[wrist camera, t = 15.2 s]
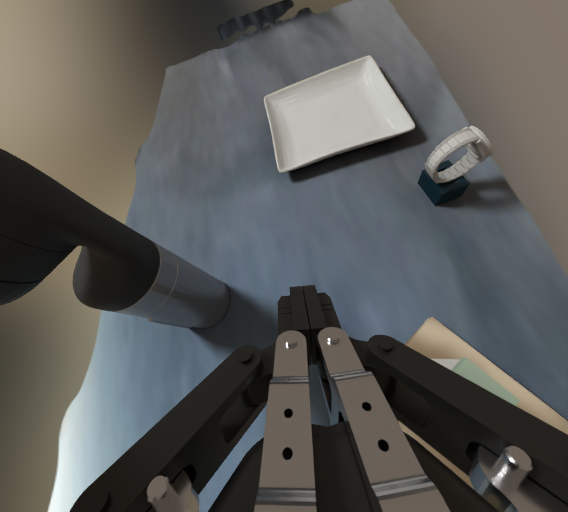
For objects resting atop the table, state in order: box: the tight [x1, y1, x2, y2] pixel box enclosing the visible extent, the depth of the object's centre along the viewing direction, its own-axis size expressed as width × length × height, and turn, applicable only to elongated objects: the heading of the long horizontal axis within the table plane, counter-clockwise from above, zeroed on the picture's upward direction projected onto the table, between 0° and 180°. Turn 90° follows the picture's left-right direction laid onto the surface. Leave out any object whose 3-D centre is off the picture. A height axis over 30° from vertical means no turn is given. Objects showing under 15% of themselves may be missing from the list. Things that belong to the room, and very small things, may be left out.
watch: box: [418, 126, 493, 206], centre depth 35 cm, size 6×8×11 cm
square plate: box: [264, 55, 415, 173], centre depth 52 cm, size 27×27×4 cm
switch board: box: [397, 317, 568, 489], centre depth 25 cm, size 24×22×2 cm
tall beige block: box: [432, 358, 520, 406], centre depth 22 cm, size 4×4×12 cm
